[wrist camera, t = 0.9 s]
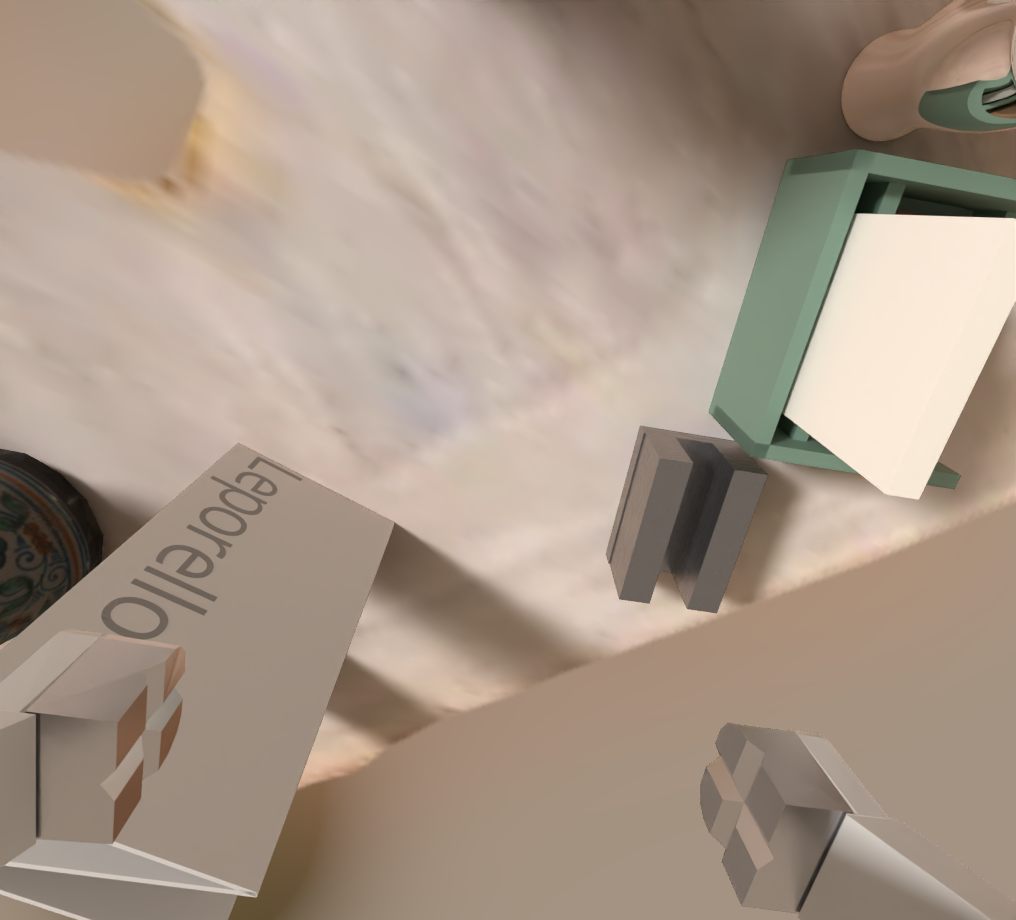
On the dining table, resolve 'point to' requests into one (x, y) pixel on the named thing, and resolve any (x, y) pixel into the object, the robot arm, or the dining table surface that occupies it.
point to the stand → (683, 516)
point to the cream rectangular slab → (903, 341)
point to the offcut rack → (824, 283)
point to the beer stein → (40, 540)
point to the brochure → (214, 684)
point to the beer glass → (937, 75)
